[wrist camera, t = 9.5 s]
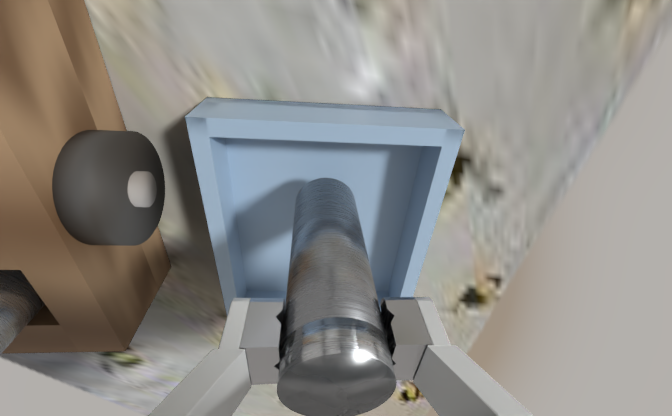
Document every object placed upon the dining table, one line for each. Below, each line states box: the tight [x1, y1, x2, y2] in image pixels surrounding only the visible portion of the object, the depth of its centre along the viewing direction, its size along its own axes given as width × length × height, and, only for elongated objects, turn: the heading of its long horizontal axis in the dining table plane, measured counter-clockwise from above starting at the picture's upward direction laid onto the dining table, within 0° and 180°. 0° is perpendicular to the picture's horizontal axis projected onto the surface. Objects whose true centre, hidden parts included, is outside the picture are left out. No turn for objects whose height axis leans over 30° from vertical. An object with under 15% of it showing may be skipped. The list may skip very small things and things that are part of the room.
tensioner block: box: [0, 0, 171, 353], centre depth 13 cm, size 16×10×6 cm, turn 176°
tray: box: [185, 97, 465, 316], centre depth 18 cm, size 14×12×3 cm
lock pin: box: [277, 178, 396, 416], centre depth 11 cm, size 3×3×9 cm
